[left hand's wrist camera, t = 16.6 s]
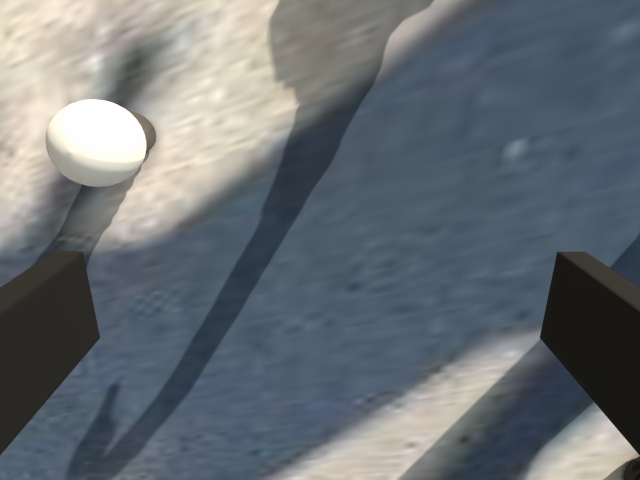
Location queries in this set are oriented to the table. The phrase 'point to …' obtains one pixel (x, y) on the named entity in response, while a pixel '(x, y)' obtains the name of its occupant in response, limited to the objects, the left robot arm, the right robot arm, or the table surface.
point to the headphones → (633, 470)
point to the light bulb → (98, 142)
